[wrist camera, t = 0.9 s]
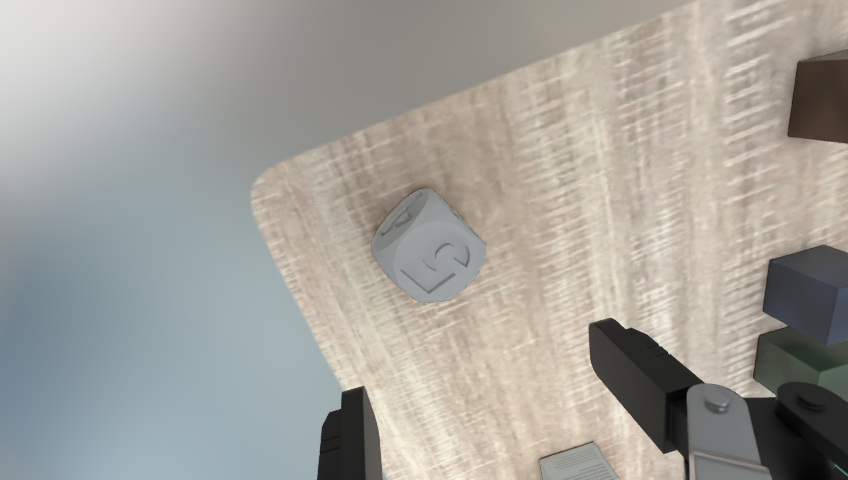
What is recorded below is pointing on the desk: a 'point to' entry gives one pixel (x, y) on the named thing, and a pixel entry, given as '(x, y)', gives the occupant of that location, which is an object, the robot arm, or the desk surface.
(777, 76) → the desk surface
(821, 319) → the row of mixed cubes
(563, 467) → the small box
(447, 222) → the die
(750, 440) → the robot arm
